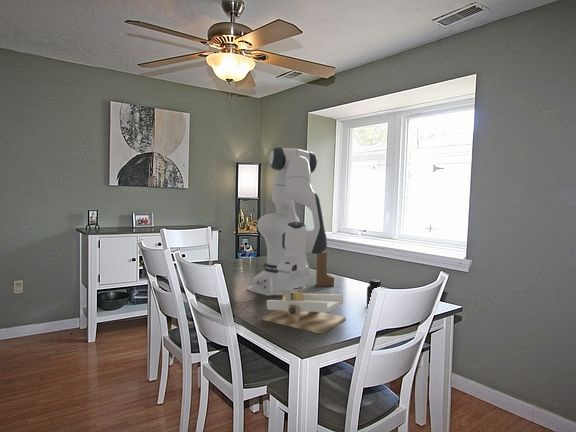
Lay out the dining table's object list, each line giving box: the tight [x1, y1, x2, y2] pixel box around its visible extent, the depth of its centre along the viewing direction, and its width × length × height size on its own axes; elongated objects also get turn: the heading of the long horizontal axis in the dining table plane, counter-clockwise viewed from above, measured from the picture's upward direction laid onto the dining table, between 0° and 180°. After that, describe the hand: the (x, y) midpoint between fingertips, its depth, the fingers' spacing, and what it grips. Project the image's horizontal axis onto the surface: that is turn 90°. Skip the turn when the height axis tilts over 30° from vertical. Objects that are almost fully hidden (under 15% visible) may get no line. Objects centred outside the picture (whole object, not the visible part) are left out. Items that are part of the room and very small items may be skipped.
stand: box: [261, 304, 347, 335], centre depth 155 cm, size 26×20×8 cm
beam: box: [266, 293, 344, 313], centre depth 155 cm, size 26×14×4 cm, turn 58°
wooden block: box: [315, 250, 335, 287], centre depth 214 cm, size 9×4×18 cm, turn 97°
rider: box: [281, 290, 304, 301], centre depth 158 cm, size 6×6×4 cm
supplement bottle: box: [366, 278, 383, 308], centre depth 175 cm, size 7×7×12 cm
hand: (294, 298), depth 158 cm, fingers open, 6 cm apart
